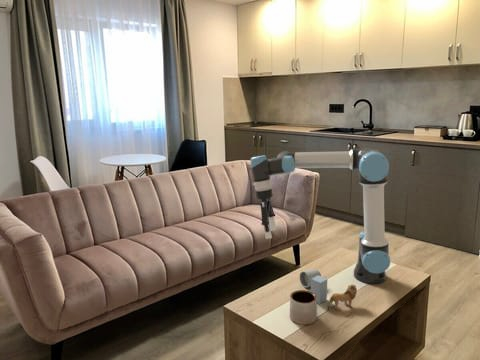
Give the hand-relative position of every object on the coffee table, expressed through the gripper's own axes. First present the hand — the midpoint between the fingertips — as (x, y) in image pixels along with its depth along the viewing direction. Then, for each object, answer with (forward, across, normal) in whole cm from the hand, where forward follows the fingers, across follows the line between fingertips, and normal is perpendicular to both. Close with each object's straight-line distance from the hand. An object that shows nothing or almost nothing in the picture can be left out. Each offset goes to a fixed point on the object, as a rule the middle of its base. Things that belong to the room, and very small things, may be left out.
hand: (271, 234), depth 182 cm
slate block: (+30, +8, +17) cm, 35 cm away
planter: (+30, +23, +12) cm, 40 cm away
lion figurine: (+32, +11, +27) cm, 44 cm away
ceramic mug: (+28, -6, +12) cm, 31 cm away
